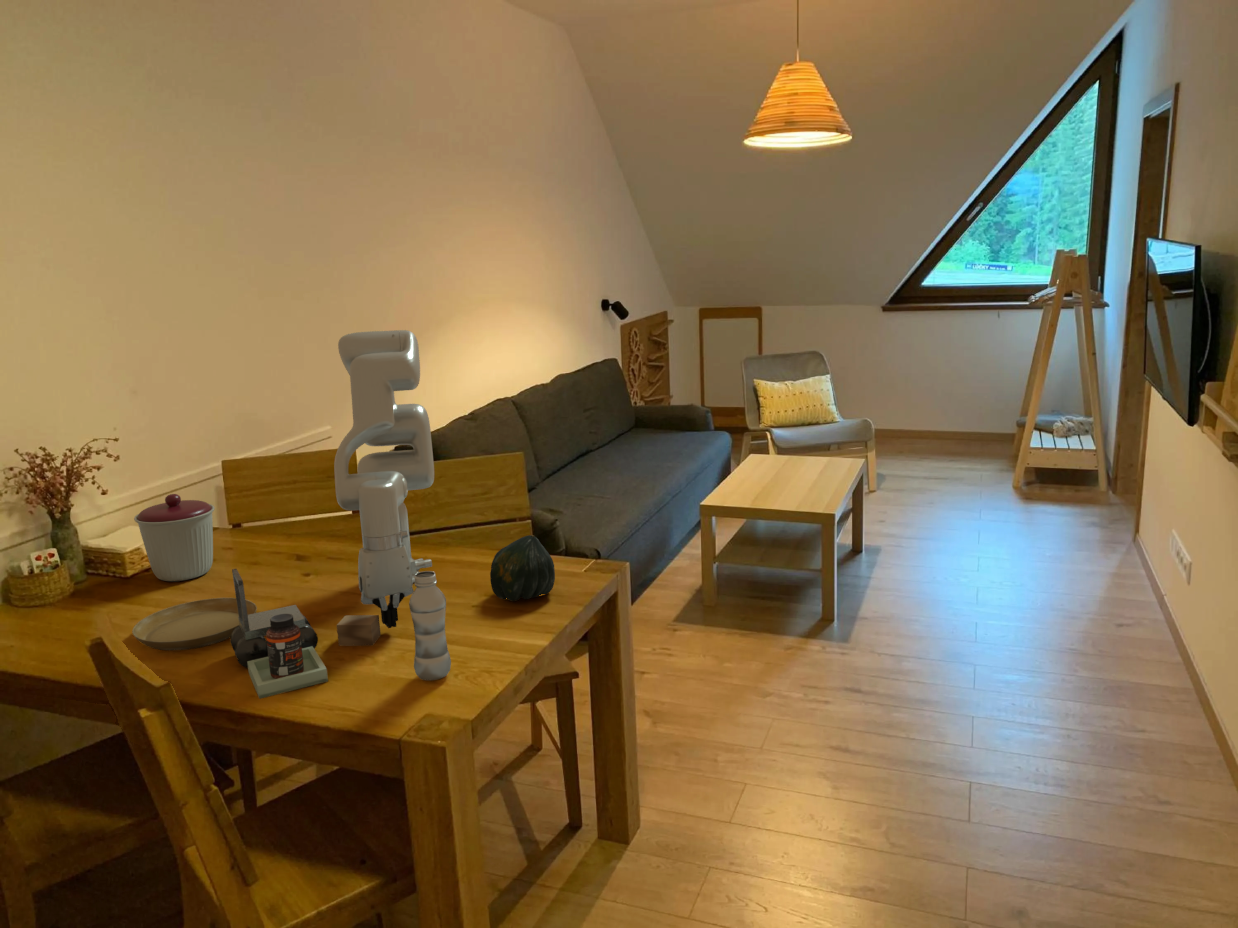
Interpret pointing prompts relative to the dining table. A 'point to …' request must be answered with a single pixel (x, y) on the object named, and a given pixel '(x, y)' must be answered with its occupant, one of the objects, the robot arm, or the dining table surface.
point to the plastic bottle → (429, 628)
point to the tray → (270, 686)
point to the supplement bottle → (284, 647)
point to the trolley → (262, 627)
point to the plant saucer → (191, 624)
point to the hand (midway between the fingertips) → (390, 625)
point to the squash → (522, 570)
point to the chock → (358, 630)
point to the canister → (178, 538)
